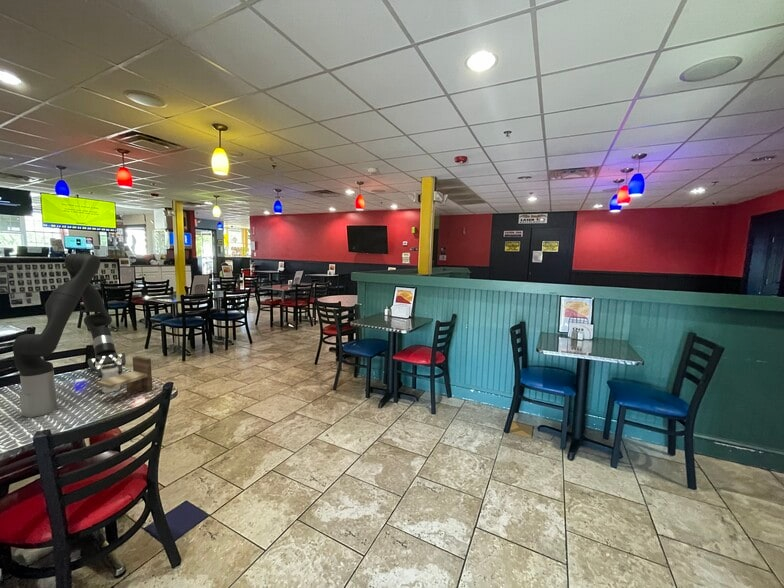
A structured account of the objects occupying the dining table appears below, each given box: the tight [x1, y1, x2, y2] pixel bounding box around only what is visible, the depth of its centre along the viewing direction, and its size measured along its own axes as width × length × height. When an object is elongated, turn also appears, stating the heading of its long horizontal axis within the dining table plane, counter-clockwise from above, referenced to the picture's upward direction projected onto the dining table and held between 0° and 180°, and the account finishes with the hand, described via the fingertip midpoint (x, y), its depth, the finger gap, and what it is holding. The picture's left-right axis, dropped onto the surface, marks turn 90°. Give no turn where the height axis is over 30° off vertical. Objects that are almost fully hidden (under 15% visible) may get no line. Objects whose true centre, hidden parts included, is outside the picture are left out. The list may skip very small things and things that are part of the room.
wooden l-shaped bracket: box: [96, 355, 154, 396], centre depth 148 cm, size 17×10×16 cm, turn 161°
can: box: [100, 364, 121, 394], centre depth 153 cm, size 6×6×12 cm
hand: (110, 375), depth 151 cm, fingers open, 6 cm apart
